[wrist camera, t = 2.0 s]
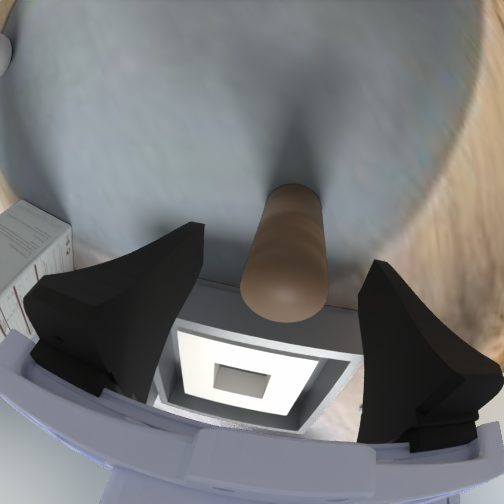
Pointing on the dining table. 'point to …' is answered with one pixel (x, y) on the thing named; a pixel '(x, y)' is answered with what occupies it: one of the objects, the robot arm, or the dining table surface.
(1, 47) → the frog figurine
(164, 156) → the dining table surface
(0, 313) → the supplement box
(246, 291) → the peg
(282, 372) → the square hole block
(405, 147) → the dining table surface
